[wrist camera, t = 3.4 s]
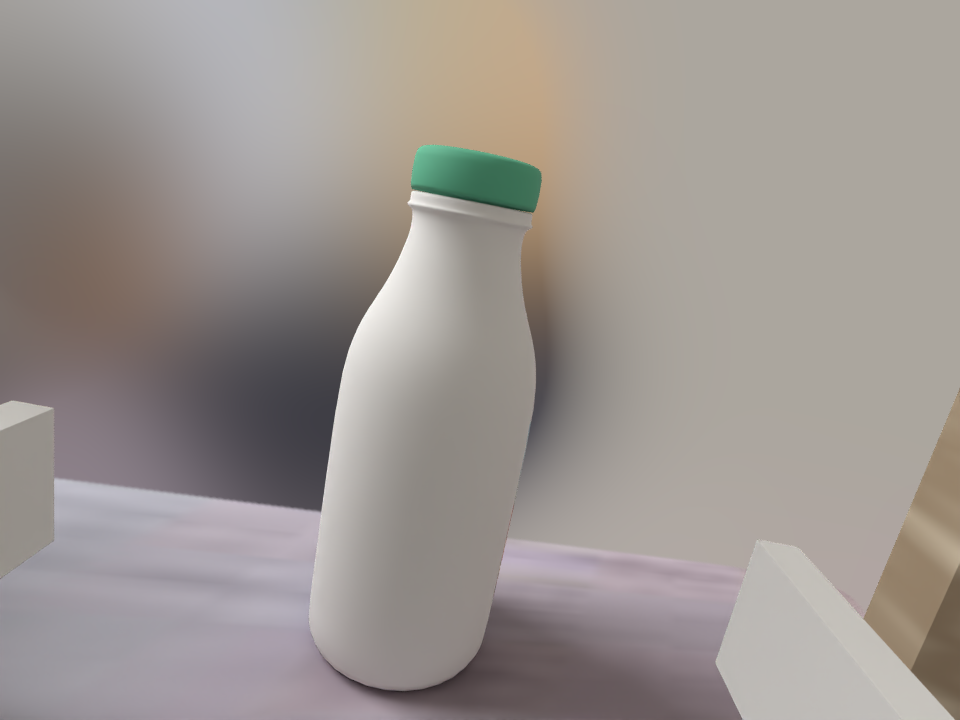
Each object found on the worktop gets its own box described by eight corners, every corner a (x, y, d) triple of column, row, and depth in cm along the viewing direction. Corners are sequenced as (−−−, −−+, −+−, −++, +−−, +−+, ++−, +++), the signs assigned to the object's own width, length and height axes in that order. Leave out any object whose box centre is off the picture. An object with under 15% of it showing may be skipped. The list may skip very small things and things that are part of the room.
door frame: (-190, 726, 17) (-416, -1003, 9) (-118, 673, 19) (-247, -777, 11) (868, 916, 17) (1600, -557, 9) (831, 844, 19) (1406, -421, 11)
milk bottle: (483, 712, 22) (611, 168, 17) (280, 682, 21) (349, 116, 16) (481, 584, 29) (569, 182, 24) (331, 560, 29) (389, 146, 24)
